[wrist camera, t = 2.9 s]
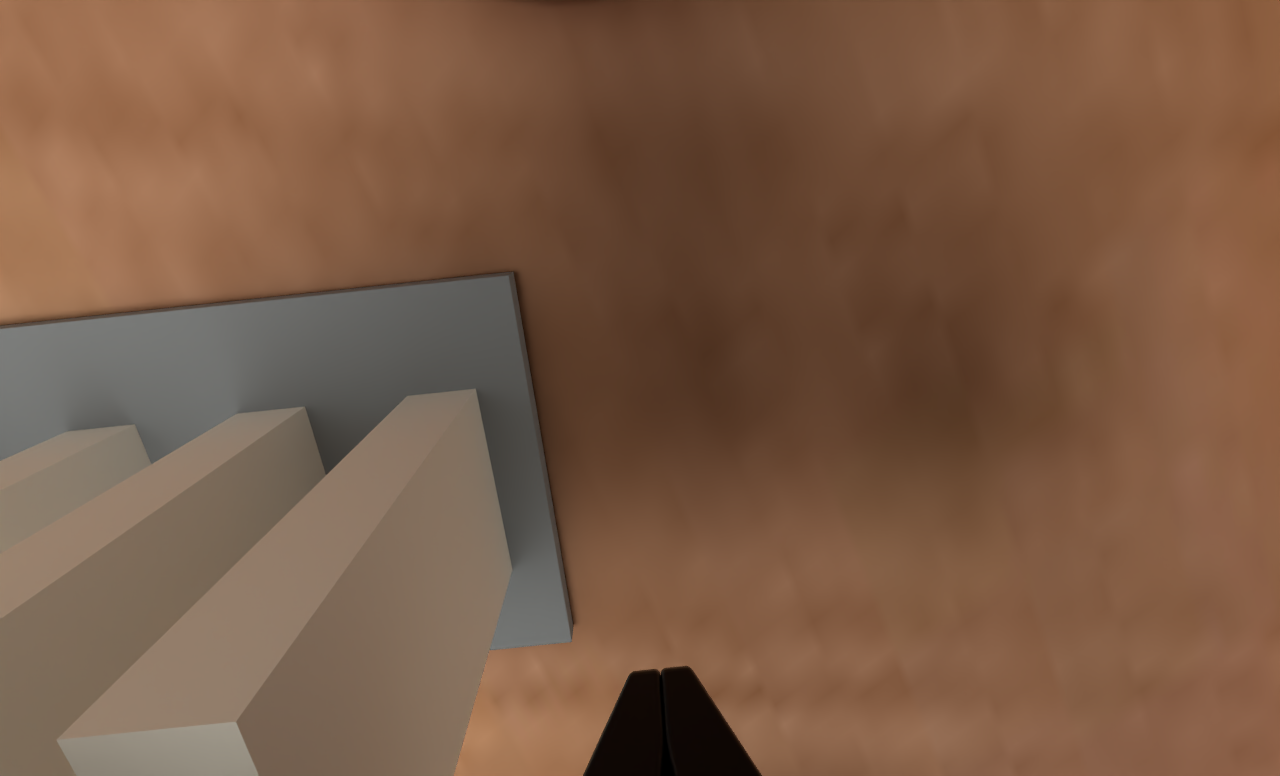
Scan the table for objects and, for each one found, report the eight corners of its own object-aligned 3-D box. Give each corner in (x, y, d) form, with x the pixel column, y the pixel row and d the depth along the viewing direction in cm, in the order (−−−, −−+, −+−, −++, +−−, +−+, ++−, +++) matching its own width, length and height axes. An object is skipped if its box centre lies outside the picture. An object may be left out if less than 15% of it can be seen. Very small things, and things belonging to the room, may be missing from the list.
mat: (513, 271, 13) (508, 275, 13) (573, 626, 17) (571, 641, 16) (-607, 389, 14) (-661, 398, 13) (-332, 718, 17) (-364, 737, 16)
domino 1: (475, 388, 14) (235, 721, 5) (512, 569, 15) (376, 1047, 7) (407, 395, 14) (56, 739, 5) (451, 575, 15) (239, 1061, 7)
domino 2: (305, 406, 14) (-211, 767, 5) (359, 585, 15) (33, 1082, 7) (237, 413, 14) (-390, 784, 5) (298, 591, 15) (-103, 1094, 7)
